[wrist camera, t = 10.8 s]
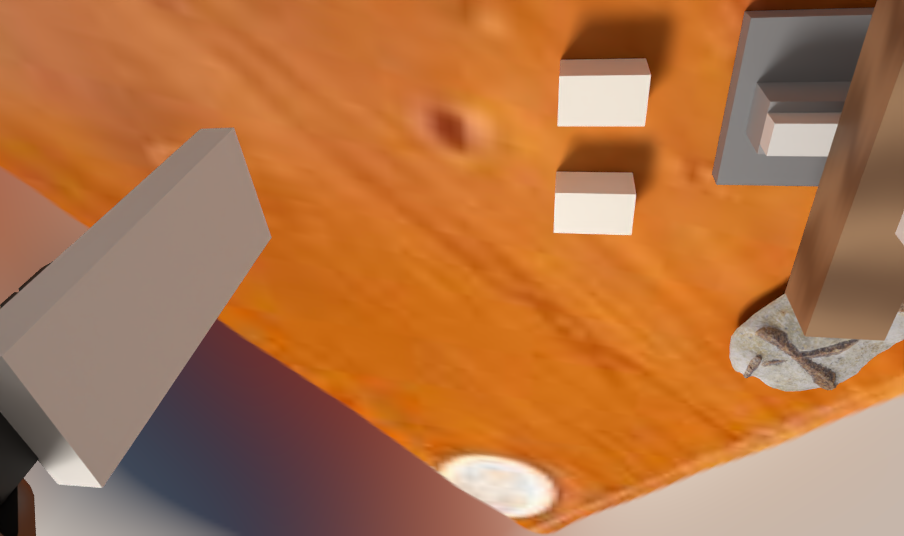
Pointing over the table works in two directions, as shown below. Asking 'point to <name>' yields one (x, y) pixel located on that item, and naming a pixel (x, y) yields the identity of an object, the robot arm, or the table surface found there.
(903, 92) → the bar
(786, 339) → the stone
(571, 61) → the blocks
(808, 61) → the fulcrum
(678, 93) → the table surface
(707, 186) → the table surface
